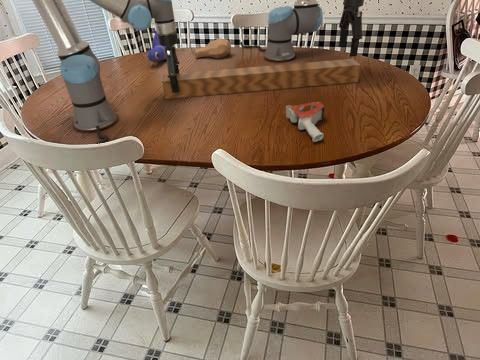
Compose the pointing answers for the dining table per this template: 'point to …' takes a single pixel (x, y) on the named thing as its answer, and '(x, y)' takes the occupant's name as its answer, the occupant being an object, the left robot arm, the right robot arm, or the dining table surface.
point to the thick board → (263, 78)
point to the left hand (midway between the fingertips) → (176, 85)
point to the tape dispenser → (307, 118)
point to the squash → (215, 49)
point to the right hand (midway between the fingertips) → (347, 51)
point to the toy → (156, 50)
